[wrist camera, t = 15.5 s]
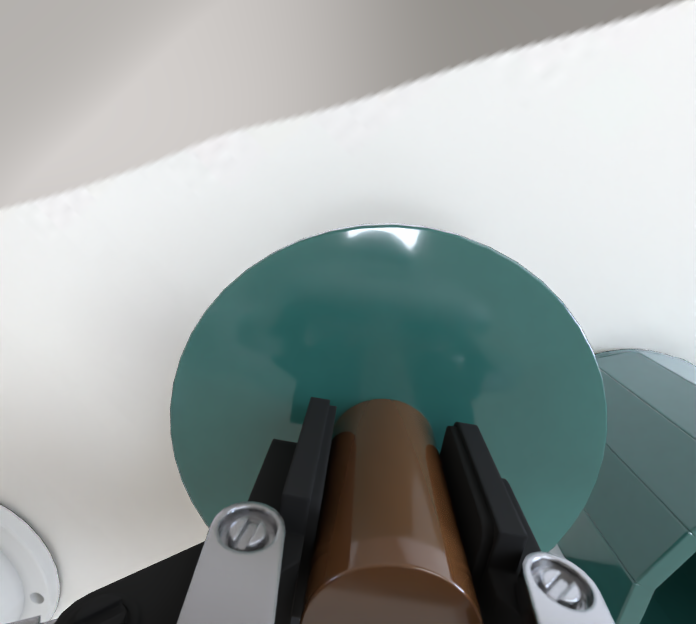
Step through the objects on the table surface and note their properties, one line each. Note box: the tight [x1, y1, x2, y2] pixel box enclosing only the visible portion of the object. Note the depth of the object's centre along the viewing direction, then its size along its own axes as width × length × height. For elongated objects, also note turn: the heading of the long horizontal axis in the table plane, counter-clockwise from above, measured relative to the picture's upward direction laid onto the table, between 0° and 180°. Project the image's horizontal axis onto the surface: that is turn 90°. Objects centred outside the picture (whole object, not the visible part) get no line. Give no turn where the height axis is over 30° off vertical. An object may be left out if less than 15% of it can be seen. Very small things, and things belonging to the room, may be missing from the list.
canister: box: [549, 349, 696, 624], centre depth 18 cm, size 11×11×10 cm
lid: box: [170, 223, 607, 624], centre depth 10 cm, size 12×12×7 cm
